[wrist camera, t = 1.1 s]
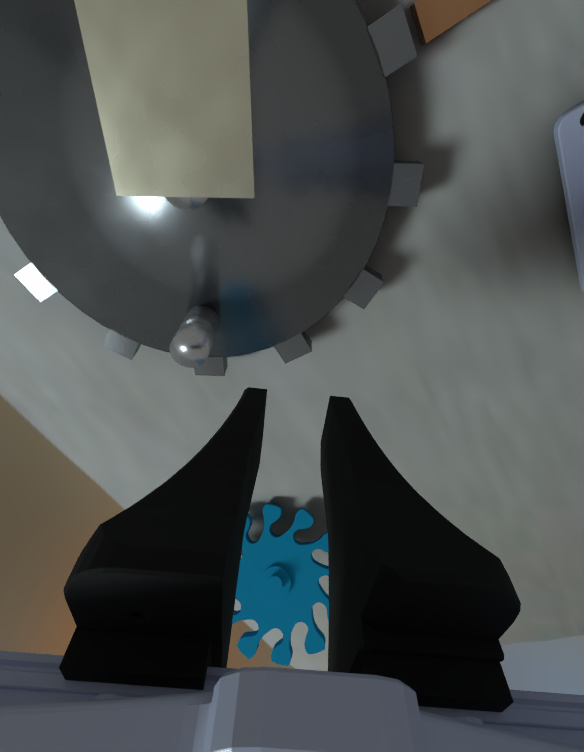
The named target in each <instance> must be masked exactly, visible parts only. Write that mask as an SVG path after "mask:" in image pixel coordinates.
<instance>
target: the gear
mask: <svg viewBox="0 0 584 752" xmlns="http://www.w3.org/2000/svg"><path fill="white" fill-rule="evenodd" d="M262 512H263V517H264V529H263V532H262V535H261V537H260V539H259V541H252V540H251V539H250V538H249V535H248V532H249V530H250V527H251V525H252V517H251V515H250V514H248V516H247V520H246V525H245V531H244V536H243V544H242V552H243V555H242V558H241V559H240V566H239V574H238V581H237V589H236V597H235V599H237V600H238V601H239V602H240V603H241V610H239V611H235V610H234V612H233V620H232V624H234V623H235V622H237V621H240V620H246V619H253V620H255V621H256V622H257V624H258V626H259V629H258V630H257V631H252V632H246V633H244V634H243V635H242V636H241V638H240V640H239V642H238V644H237V646H238V648H239V650H240V651H241V652H242V653H243V654H244V655H245V656H246V657H247V658H248V659H250V658H251V657H253V656H254V655H255V653H256V650H257V648H258V646H259V641H260V639H261V638H262V637H263V635H265V634H266V633H267V632H268V631H270V630H271V629H273V628H278V629H280V630H281V631H282V633H283V638H282V639H281V640H279V641H278V642H277V643H276V644H275V645H274V648H273V651H272V654H271V659H272V661H273V662H275V663H277V664H280V665H286V666H288V665H289V664H290V661H291V658H292V653H293V651H292V646H291V632H292V629H293V627H294V625H295V624H296V623H297V622H304V623H305V624H306V625H307V626H308V629H309V631H308V633H307V635H306V639H305V649H306V651H307V653H308V654H314V653H318V652H320V651H322V650H324V649H325V636H324V634H323V633H322V632H321V631H320V630H319V628H318V627H317V625H316V623H315V620H314V617H313V609H312V606H313V605H314V604H315V603H317V602H321V603H323V604H324V605H325V606H326V608H327V615H328V620H329V596H328V595H327V594H326V593H325V591H324V590H323V589H322V587H321V585H320V584H319V578H320V577H321V576H323V575H327V576H329V566H326V565H323V564H321V563H319V562H317V561H315V560H314V559H313V557H312V551H313V550H315V549H318V548H319V549H322V550H324V551H326V552H328V531H326V532H325V533H324V534H323V535H322V536H321V537H320V538H319V539H317V540H315V541H312V542H305V543H300V542H298V541H297V540H296V539H295V535H294V534H295V531H296V530H298V529H306V528H309V527H311V526H312V524H313V522H314V517H313V515H312V514H311V513H310V512H309V511H307V510H306V509H305V508H301V509H300V510H299V511H298V512H297V513H296V515H295V520H294V523H293V525H292V526H291V528H290V529H289V530H287V531H286V532H285V533H283V534H282V535H275V534H274V533H273V532H272V529H271V526H272V524H273V522H275V521H276V520H277V519H279V518H280V517H281V515H282V512H283V509H282V507H281V506H279V505H276V504H270V503H267V504H265V506H264V507H263V511H262ZM328 553H329V552H328Z"/></svg>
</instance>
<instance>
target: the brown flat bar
mask: <svg viewBox="0 0 584 752" xmlns="http://www.w3.org/2000/svg"><path fill="white" fill-rule="evenodd" d="M490 1H491V0H417V1H416V2H414V3H413V4H412V5H411V6H410V7H411V10H412V14H413V17H414V21H415V24H416V27H417V31H418V34H419V37H420V41H421V44H422V45H424V44H426V43H428V42H429V41H431V40H432V39H434V38H435V37H437V36H438V35H440V34H441V33H443V32H444V31H446V30H447V29H449V28H450V27H452V26H453V25H455V24H456V23H458V22H459V21H461V20H463V19H464V18H466V17H467V16H469V15H470V14H472V13H473V12H475V11H476V10H478V9H479V8H481V7H482V6H484V5H485V4H487V3H488V2H490Z"/></svg>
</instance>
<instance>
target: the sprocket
mask: <svg viewBox="0 0 584 752" xmlns="http://www.w3.org/2000/svg"><path fill="white" fill-rule="evenodd" d="M416 57H417V53H416V49H415V46H414V43H413V39H412V36H411V33H410V30H409V26H408V23H407V20H406V17H405V13H404V10H403V7H402V3H400V4H399V5H398V6H396V7H395V8H393V9H392V10H390V11H389V12H388V13H386V14H385V15H383V16H382V17H381V18H379V19H378V20H376V21H375V22H373V23H372V24H371V25H369V26H368V27H367V25H366V22H365V20H364V18H363V16H362V14H361V12H360V10H359V9H358V7H357V5H356V3H355V2H354V0H0V216H1V218H2V220H3V222H4V223H5V225H6V227H7V229H8V230H9V232H10V234H11V235H12V237H13V238H14V239H15V241H16V242H17V244H18V245H19V247H20V248H21V250H22V251H23V252H24V254H25V255H26V257H27V258H28V259H29V260H30V261H31V263H30V264H28V265H27V266H26V267H24V268H23V269H21V270H20V271H19V272H17V273H16V274H14V275H15V276H16V277H17V278H18V279H19V280H20V281H21V282H22V284H23V285H24V286H25V287H26V288H27V289H28V290H29V291H30V292H31V293H32V294H33V295H34V296H35V297H36V298H37V299H38V300H39V301H40V302H41V301H43V300H44V299H46V298H48V297H49V296H51V295H52V294H54V293H55V292H57V291H58V292H59V293H60V294H61V295H62V296H64V297H65V298H66V299H67V300H69V301H70V302H71V303H72V304H73V305H75V306H76V307H77V308H78V309H80V310H81V311H82V312H83V313H85V314H86V315H88V316H89V317H91V318H92V319H94V320H95V321H97V322H98V323H100V324H101V325H103V326H105V327H107V328H108V329H109V330H108V332H107V335H106V338H105V340H104V343H103V347H105V348H107V349H109V350H111V351H114V352H116V353H118V354H120V355H122V356H124V357H127V358H129V359H131V360H132V358H133V357H134V355H135V354H136V353H137V351H138V349H139V347H140V345H141V344H143V345H145V346H148V347H152V348H155V349H158V350H162V351H165V352H170V354H171V356H172V358H173V359H174V360H175V361H176V362H177V363H179V364H180V365H182V366H185V367H190V368H194V369H195V375H210V376H225V372H226V369H227V357H229V356H236V355H243V354H249V353H253V352H256V351H260V350H264V349H267V348H270V347H273V346H274V347H275V349H276V350H277V352H278V353H279V355H280V356H281V358H282V359H283V361H284V362H285V363H288V362H290V361H292V360H294V359H296V358H298V357H301V356H303V355H305V354H307V353H309V352H311V351H312V343H311V340H310V338H309V336H308V335H307V333H306V332H305V330H307V329H308V328H309V327H311V326H312V325H313V324H315V323H316V322H317V321H319V320H320V319H322V318H323V317H324V316H325V315H326V314H327V313H328V312H329V311H330V310H331V309H332V308H333V307H334V306H336V305H337V304H338V303H339V302H340V300H341V299H342V298H343V297H344V298H346V299H348V300H349V301H351V302H353V303H354V304H356V305H358V306H359V307H361V308H363V309H364V308H365V307H366V306H367V305H368V303H369V302H370V301H371V299H372V298H373V297H374V295H375V294H376V293H377V291H378V290H379V289H380V287H381V286H382V285H383V283H384V281H383V278H382V276H381V274H379V273H378V272H376V271H375V270H373V269H371V268H370V267H368V266H367V265H366V264H367V262H368V260H369V258H370V255H371V253H372V251H373V249H374V247H375V245H376V243H377V240H378V238H379V235H380V231H381V228H382V225H383V222H384V219H385V216H386V213H387V208H388V206H416V207H417V203H418V198H419V192H420V186H421V181H422V175H423V169H424V163H422V162H420V161H400V160H394V132H393V118H392V111H391V105H390V99H389V92H388V87H387V83H386V79H385V77H387V76H388V75H390V74H391V73H393V72H394V71H396V70H397V69H399V68H400V67H402V66H403V65H405V64H406V63H408V62H410V61H411V60H413V59H414V58H416Z"/></svg>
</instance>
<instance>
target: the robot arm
mask: <svg viewBox="0 0 584 752" xmlns="http://www.w3.org/2000/svg"><path fill="white" fill-rule="evenodd" d="M583 113H584V102H583V103H581V104H579V105H577V106H576V107H574V108H572V109H570V110H568V111H567V112H565V113H564V114H562V115H561V116H560V117H559V118H558V120H557V121H556V123H555V126H554V139H555V144H556V150H557V156H558V162H559V168H560V173H561V179H562V185H563V191H564V196H565V202H566V208H567V214H568V219H569V225H570V231H571V237H572V243H573V248H574V254H575V260H576V266H577V271H578V277H579V283H580V288H581V290H582V291H583V292H584V125H583V126H581V124H580V118H581V116H582V115H583ZM266 395H267V389H259V388H249V387H248V388H247V389H245V390H244V393H243V395H242V397H241V399H240V400H239V402H238V404H237V405H236V407H235V408H234V410H233V411H232V413H231V414H230V415H229V417H228V418H227V420H226V421H225V422H224V424H223V425H222V426H221V428H220V429H219V430H218V431H217V432H216V433H215V435H214V436H213V437H212V438H211V439H210V440H209V442H208V443H207V444H206V445H205V446H204V447H203V448H202V449H201V450H200V451H199V452H198V453H197V454H196V455H195V456H194V457H193V458H192V459H191V460H190V461H189V462H188V463H187V464H186V465H185V466H184V467H182V468H181V469H180V470H179V471H178V472H177V473H176V474H174V475H173V476H172V477H171V478H170V479H168V480H167V481H166V482H165V483H163V484H162V485H161V486H159V487H158V488H157V489H155V490H154V491H152V492H151V493H150V494H148V495H147V496H145V497H144V498H143V499H141V500H140V501H138V502H137V503H135V504H134V505H132V506H131V507H129V508H127V509H126V510H124V511H122V512H121V513H119V514H117V515H116V516H114V517H113V518H111V519H109V520H108V521H106V522H104V523H102V524H100V526H99V527H98V528H97V530H96V531H95V533H94V534H93V536H92V537H91V538H90V540H89V542H88V543H87V545H86V546H85V547H84V549H83V550H82V552H81V554H80V556H79V557H78V559H77V562H76V564H75V566H74V568H73V570H72V572H71V574H70V576H69V578H68V580H67V583H66V585H65V587H64V595H65V599H66V601H67V604H68V606H69V609H70V611H71V613H72V616H73V618H74V621H75V623H76V625H77V627H76V630H75V632H74V634H73V636H72V639H71V641H70V644H69V645H68V648H67V650H66V653H65V655H64V656H62V655H49V654H36V653H23V652H10V651H9V652H8V651H0V752H584V695H572V694H559V693H546V692H532V691H520V690H509V687H508V684H507V681H506V678H505V676H504V673H503V670H502V667H501V664H500V662H501V661H503V660H504V653H503V651H502V648H501V645H500V642H499V640H498V639H499V638H500V637H501V636H502V635H503V634H504V632H505V631H506V630H507V629H508V628H509V627H510V626H511V625H512V623H513V622H514V621H515V619H516V618H517V616H518V614H519V612H520V605H521V603H520V601H519V598H518V596H517V594H516V591H515V589H514V586H513V584H512V582H511V580H510V577H509V575H508V573H507V572H506V570H505V568H504V566H503V564H502V562H501V560H500V559H499V558H498V557H496V556H495V555H494V554H492V553H491V552H489V551H488V550H487V549H485V548H484V547H482V546H481V545H479V544H478V543H477V542H475V541H474V540H472V539H471V538H470V537H468V536H467V535H466V534H464V533H463V532H462V531H461V530H459V529H458V528H457V527H456V526H454V525H453V524H452V523H451V522H449V521H448V520H447V519H446V518H445V517H443V516H442V515H441V514H440V513H439V512H438V511H436V510H435V509H434V508H433V507H432V506H431V505H430V504H429V503H428V502H427V501H426V500H425V499H424V498H423V497H422V496H420V495H419V494H418V493H417V492H416V491H415V490H414V489H413V488H412V486H411V485H410V484H409V483H408V482H407V481H406V480H405V479H404V478H403V477H402V475H401V474H400V473H399V472H398V471H397V470H396V468H395V467H394V466H393V465H392V463H391V462H390V461H389V459H388V458H387V457H386V455H385V454H384V453H383V451H382V450H381V449H380V447H379V446H378V444H377V443H376V441H375V440H374V438H373V437H372V435H371V434H370V432H369V431H368V429H367V428H366V426H365V424H364V423H363V421H362V419H361V418H360V416H359V414H358V412H357V411H356V409H355V407H354V405H353V403H352V402H351V400H350V399H349V398H346V397H336V396H330V399H329V404H328V409H327V414H326V419H325V424H324V429H323V434H322V439H321V478H322V487H323V496H324V504H325V513H326V522H327V531H328V552H329V648H328V671H315V670H302V669H288V668H275V667H244V668H240V669H232V668H226V667H227V659H228V651H229V644H230V636H231V628H232V620H233V612H234V604H235V597H236V589H237V581H238V574H239V566H240V559H241V551H242V544H243V536H244V531H245V525H246V520H247V516H248V512H249V507H250V503H251V499H252V494H253V490H254V486H255V481H256V477H257V473H258V468H259V464H260V456H261V447H262V439H263V429H264V418H265V407H266Z"/></svg>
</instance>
